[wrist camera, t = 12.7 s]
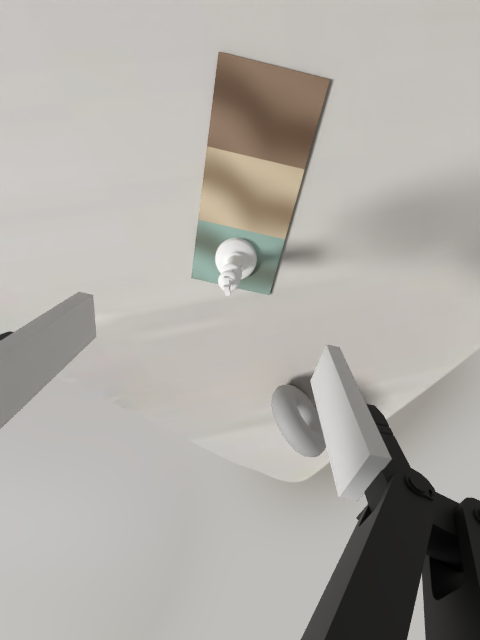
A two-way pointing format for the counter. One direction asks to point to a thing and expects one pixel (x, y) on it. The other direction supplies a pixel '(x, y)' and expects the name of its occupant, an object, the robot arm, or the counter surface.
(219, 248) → the chess piece
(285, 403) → the donut
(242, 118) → the track
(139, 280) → the counter surface
